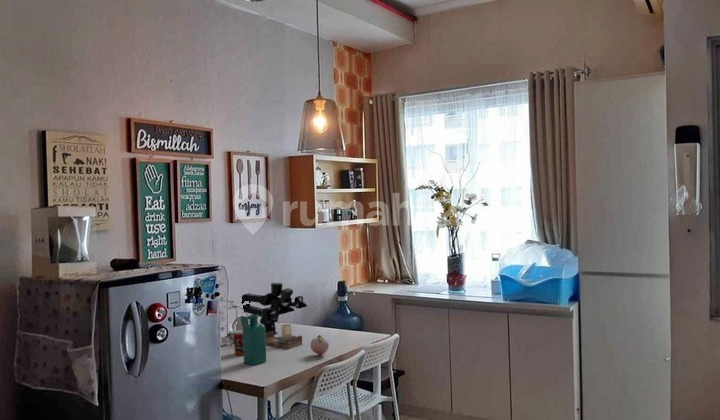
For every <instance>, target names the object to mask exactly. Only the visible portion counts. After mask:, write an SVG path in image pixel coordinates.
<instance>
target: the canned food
mask: <svg viewBox="0 0 720 420" xmlns="http://www.w3.org/2000/svg"><path fill="white" fill-rule="evenodd" d="M233 333H234V334H233V342H234V354H235V355H236V356H239V357H240V356H243V357H244V352H243V329H237V330H235V331H234V332H233Z"/></svg>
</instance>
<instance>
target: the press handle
mask: <svg viewBox="0 0 720 420" xmlns="http://www.w3.org/2000/svg"><path fill="white" fill-rule="evenodd" d="M280 328H281V336H278V337H277V338H278V342H280V343H285V344H286V339H290V338H293V337H297V335H292V324H290V323H284V324H283V325H281V327H280Z"/></svg>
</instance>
